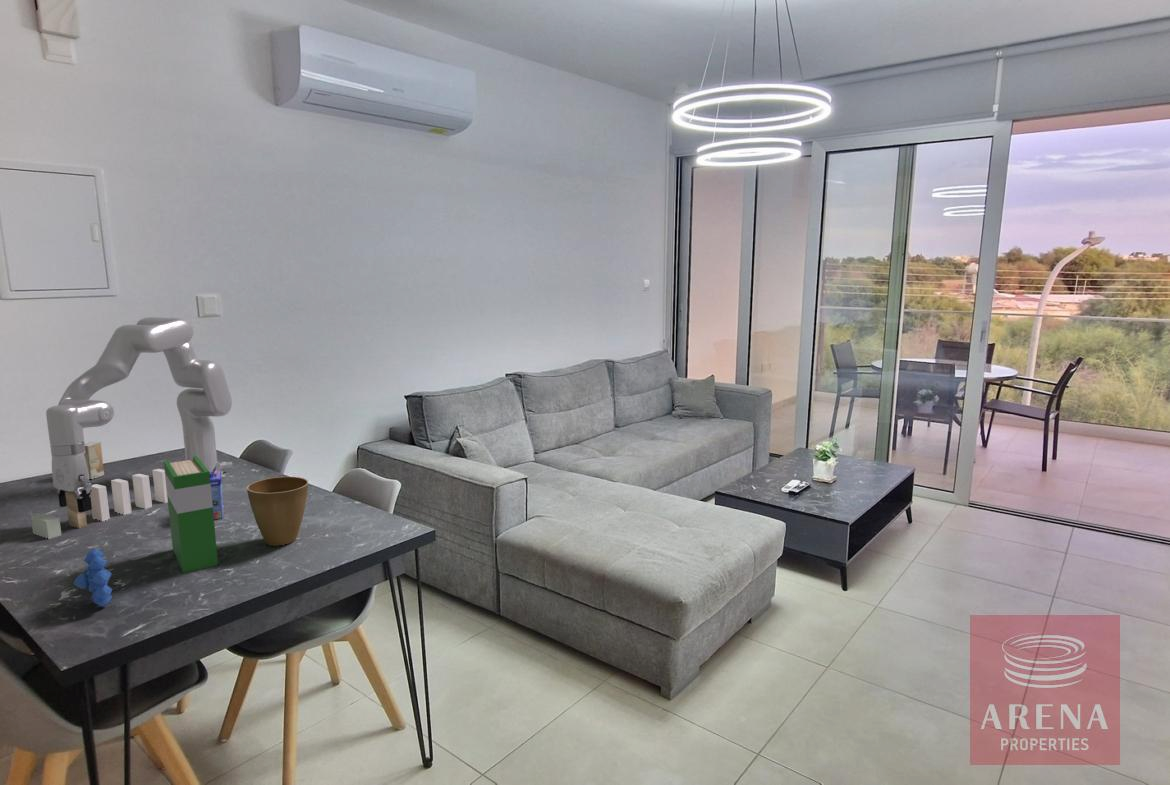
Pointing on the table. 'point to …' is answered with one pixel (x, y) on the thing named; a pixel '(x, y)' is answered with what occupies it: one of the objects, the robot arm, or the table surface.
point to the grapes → (96, 578)
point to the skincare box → (94, 459)
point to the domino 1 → (74, 511)
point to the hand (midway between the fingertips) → (75, 508)
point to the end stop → (46, 525)
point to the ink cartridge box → (217, 493)
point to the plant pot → (278, 507)
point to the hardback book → (191, 514)
